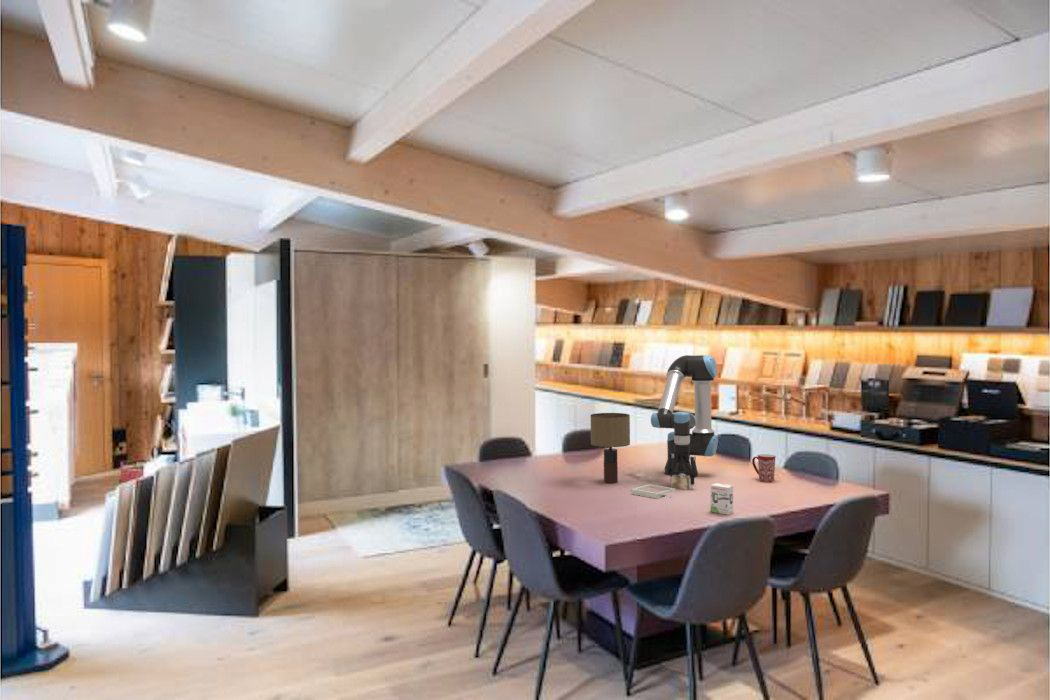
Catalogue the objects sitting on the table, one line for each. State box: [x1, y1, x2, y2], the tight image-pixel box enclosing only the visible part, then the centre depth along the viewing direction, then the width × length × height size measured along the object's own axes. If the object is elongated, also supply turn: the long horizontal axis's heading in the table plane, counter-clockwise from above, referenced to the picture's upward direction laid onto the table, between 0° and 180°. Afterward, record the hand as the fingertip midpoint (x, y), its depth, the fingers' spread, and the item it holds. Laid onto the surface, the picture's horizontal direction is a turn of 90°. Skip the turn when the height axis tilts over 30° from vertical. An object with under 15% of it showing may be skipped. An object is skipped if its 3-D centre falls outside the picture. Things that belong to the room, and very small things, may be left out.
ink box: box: [710, 482, 734, 515], centre depth 307 cm, size 9×5×12 cm, turn 48°
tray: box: [630, 484, 677, 500], centre depth 344 cm, size 15×15×2 cm
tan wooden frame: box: [670, 475, 695, 490], centre depth 351 cm, size 8×9×5 cm
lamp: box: [590, 412, 631, 484], centre depth 371 cm, size 20×20×35 cm
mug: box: [751, 453, 777, 483], centre depth 371 cm, size 13×9×14 cm
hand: (682, 489), depth 351 cm, fingers open, 9 cm apart
